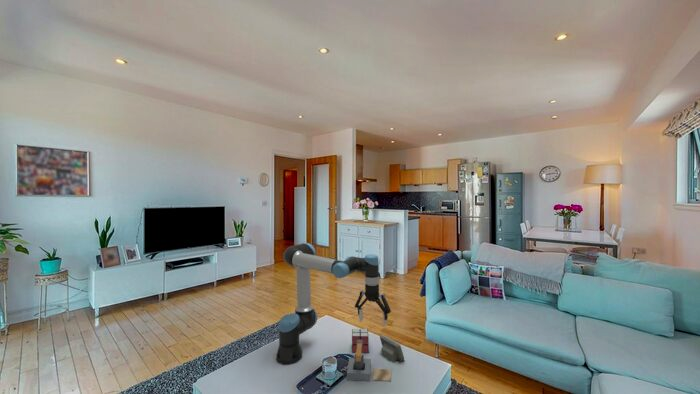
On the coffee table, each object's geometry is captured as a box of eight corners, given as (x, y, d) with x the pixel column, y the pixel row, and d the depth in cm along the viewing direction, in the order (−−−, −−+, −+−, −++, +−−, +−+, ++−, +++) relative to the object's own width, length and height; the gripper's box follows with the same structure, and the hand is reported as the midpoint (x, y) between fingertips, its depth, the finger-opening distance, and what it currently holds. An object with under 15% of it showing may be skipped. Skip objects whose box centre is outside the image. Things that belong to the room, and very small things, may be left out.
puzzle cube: (368, 353, 164) (368, 336, 164) (352, 353, 165) (351, 336, 165) (367, 344, 174) (367, 328, 174) (352, 344, 175) (352, 328, 175)
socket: (346, 379, 140) (346, 359, 140) (349, 363, 154) (349, 345, 154) (370, 381, 139) (370, 360, 139) (370, 365, 152) (370, 346, 152)
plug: (354, 375, 143) (354, 356, 143) (355, 369, 148) (354, 351, 148) (363, 376, 143) (363, 356, 143) (363, 370, 148) (363, 351, 148)
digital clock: (405, 361, 155) (405, 343, 155) (392, 366, 151) (392, 347, 151) (389, 348, 170) (389, 330, 170) (377, 351, 166) (377, 334, 166)
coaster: (373, 380, 139) (373, 379, 139) (373, 369, 148) (373, 368, 148) (390, 381, 138) (390, 380, 138) (390, 370, 147) (390, 369, 147)
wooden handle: (354, 361, 139) (354, 354, 139) (356, 345, 154) (356, 339, 154) (361, 361, 138) (361, 354, 138) (363, 345, 153) (363, 339, 153)
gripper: (396, 284, 145) (396, 324, 145) (354, 279, 157) (354, 316, 156) (391, 288, 139) (392, 330, 138) (348, 282, 150) (348, 321, 150)
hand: (372, 323), depth 147 cm, fingers open, 13 cm apart
